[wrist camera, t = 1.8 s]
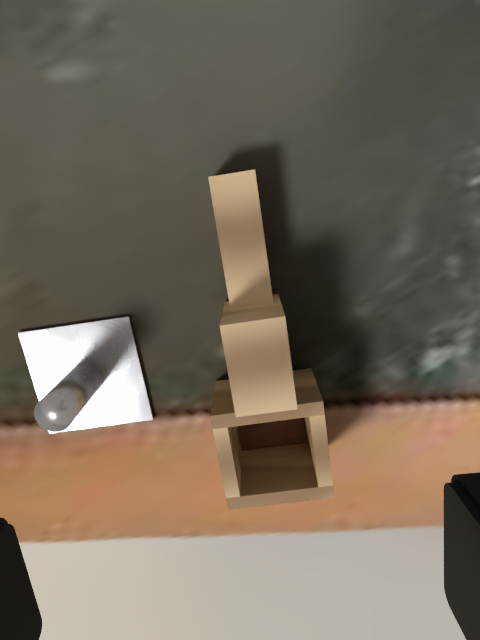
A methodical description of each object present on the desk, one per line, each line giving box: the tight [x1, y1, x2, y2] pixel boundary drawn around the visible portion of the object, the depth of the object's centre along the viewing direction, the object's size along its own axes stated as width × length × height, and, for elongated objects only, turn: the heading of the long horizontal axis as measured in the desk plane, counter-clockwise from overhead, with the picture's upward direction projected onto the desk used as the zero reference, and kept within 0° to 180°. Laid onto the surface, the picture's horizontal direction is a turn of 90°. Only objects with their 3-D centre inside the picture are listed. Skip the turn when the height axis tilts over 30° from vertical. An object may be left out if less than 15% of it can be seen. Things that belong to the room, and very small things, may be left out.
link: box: [208, 169, 334, 510], centre depth 23 cm, size 18×6×5 cm, turn 9°
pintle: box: [18, 316, 154, 433], centre depth 24 cm, size 7×7×5 cm
